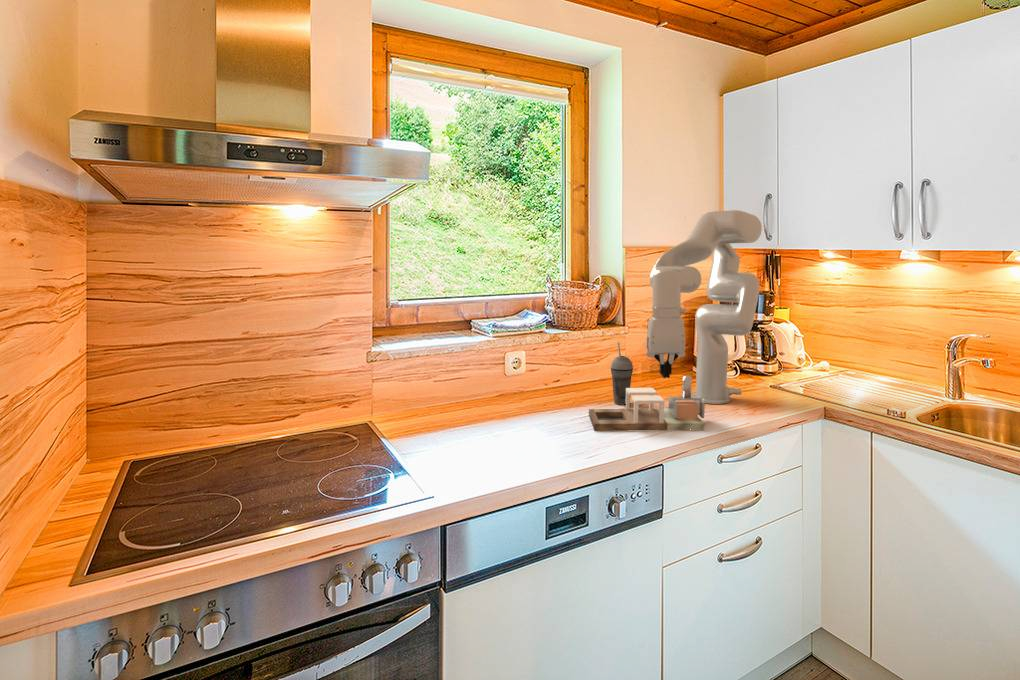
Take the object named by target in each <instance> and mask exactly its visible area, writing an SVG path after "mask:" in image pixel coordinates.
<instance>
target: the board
mask: <svg viewBox="0 0 1020 680" xmlns="http://www.w3.org/2000/svg"><path fill="white" fill-rule="evenodd" d="M588 417H589V419H590V423H591V426H592V429H593V430H594V431H598V432H599V431H600V432H601V431H602V432H603V431H604V432H606V431H607V432H609V431H610V432H613V431H616V432H617V431H619V432H621V431H622V432H623V431H627V432H628V430H659V431H705V422H703V420H701V418H699V417H698V418H697V419H676V418H674V417H673V416H672V415H671V414H670V412H669V408H664V423H659V408H653V410H649V408H638V423H634V408H630V410H626V408H588ZM690 429H691V430H690Z"/></svg>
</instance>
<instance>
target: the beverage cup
mask: <svg viewBox="0 0 1020 680" xmlns="http://www.w3.org/2000/svg"><path fill="white" fill-rule="evenodd" d="M620 345H621V344H620V342H619V341H618V342H617V346H618V347H617V348H618V356H617V357H615V358H614V359H613V360H612V362H611V364H610V372H611V377H612V379H611V380H612V391H613V393H612V394H613V401H614V402H613V404H615V405H617V404H619V406H625V405H624V404H626V388H631V385H632V384H631V382H632V375H633V371H634V367H633V365H634V364H633V362H632V360H631V359H630V358H629V357H627V356H626V355H625V356H624V355H621V354H622V353H621V346H620Z"/></svg>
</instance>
